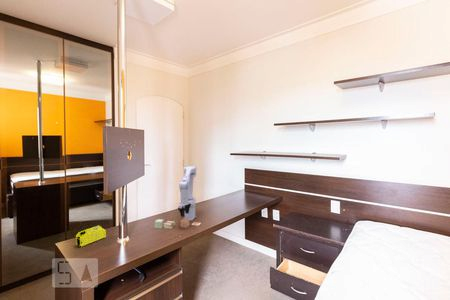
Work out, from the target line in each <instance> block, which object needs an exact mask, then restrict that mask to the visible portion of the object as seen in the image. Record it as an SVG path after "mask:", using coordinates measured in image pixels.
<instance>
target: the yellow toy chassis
mask: <svg viewBox="0 0 450 300" xmlns="http://www.w3.org/2000/svg"><path fill="white" fill-rule="evenodd" d="M106 230H107V229H104V228H102V226H101V225H96V226H93V227H91V228H87V229H84V230H82V231H79V232H78V233H77V234H76V235H75V243H76V246H78V245H79V246H78V247H80V246H81V247H84V246H87V245H89V244H91V243H93V242H97V241H100V240H101V239H104V238H106V237H107V234H106V233H107V231H106ZM77 244H78V245H77Z"/></svg>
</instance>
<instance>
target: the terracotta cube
mask: <svg viewBox="0 0 450 300" xmlns="http://www.w3.org/2000/svg"><path fill="white" fill-rule="evenodd" d="M189 227H190V220H189V219H184V218H182V219H181V220H180V228H185V229H188V228H189Z"/></svg>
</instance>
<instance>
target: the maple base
mask: <svg viewBox="0 0 450 300" xmlns="http://www.w3.org/2000/svg"><path fill="white" fill-rule="evenodd" d="M174 227H176V221H172V220H167V221H166V222H164V226H163V229H168V230H169V229H171V230H172V229H173V228H174Z"/></svg>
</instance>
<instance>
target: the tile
mask: <svg viewBox="0 0 450 300" xmlns="http://www.w3.org/2000/svg"><path fill="white" fill-rule="evenodd" d="M200 225H201V222H197V221H194V222H193V223H191V226H197V227H198V226H200Z"/></svg>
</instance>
